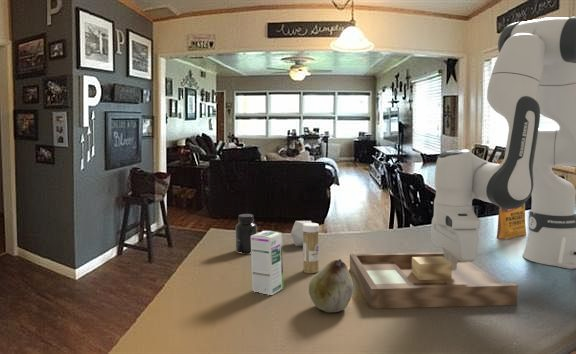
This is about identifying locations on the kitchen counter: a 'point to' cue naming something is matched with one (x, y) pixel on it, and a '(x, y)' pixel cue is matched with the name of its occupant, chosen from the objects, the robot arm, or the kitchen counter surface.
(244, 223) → the supplement bottle
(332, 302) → the fruit
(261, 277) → the syrup box
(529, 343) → the kitchen counter surface
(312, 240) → the sprinkles bottle
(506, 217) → the pancake mix bag
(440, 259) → the maple block
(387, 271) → the box
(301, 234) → the die
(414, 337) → the kitchen counter surface
